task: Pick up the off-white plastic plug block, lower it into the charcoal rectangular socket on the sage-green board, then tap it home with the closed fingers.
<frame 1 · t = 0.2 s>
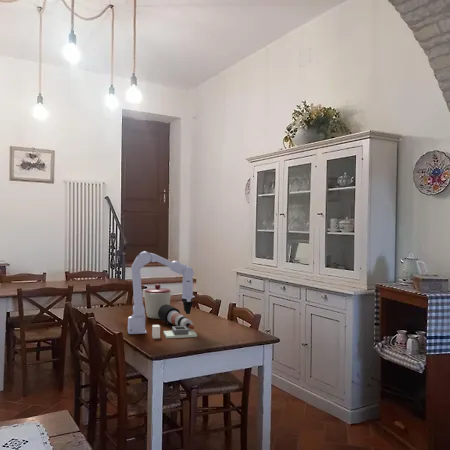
hand: (187, 312, 265), 10 cm above the table, fingers open, 7 cm apart
board: (180, 335, 253), on the table
plug: (156, 337, 248), on the table
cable: (178, 327, 271), on the table, touching board
canister: (157, 317, 300), on the table
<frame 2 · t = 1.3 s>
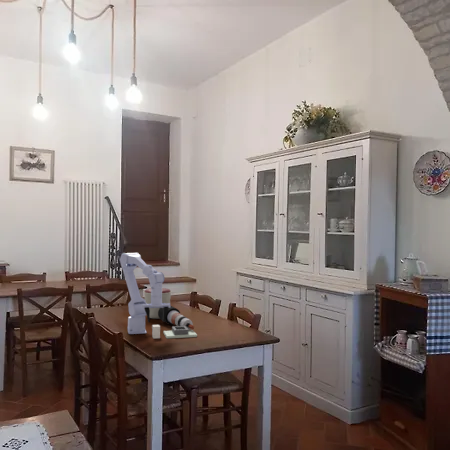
hand: (156, 321, 248), 8 cm above the table, fingers open, 7 cm apart
nothing on the table moved.
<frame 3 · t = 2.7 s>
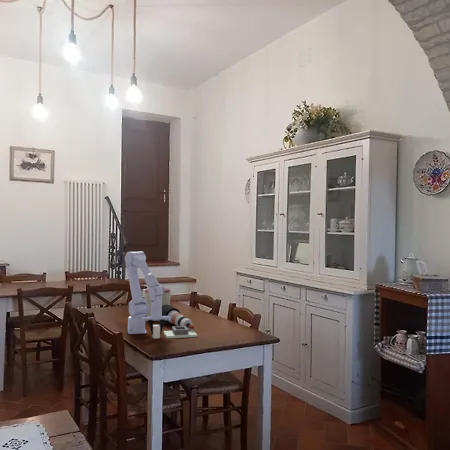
hand: (156, 334, 248), 1 cm above the table, fingers closed on plug, 3 cm apart
plug: (156, 337, 248), on the table, touching gripper
everything else where it was.
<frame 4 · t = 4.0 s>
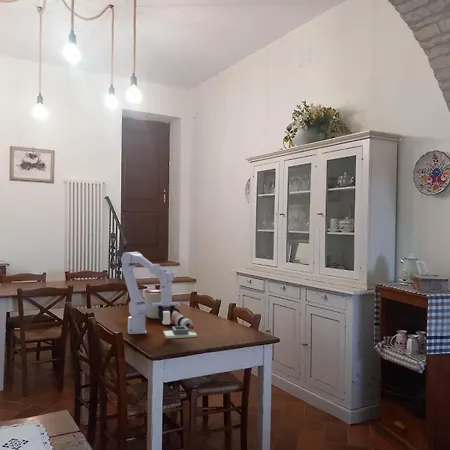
hand: (166, 320, 250), 8 cm above the table, fingers closed on plug, 3 cm apart
plug: (166, 323, 250), point 7 cm above the table, touching gripper
everything else where it was.
when the fingers open (4 cm above the table, at t = 5.6 s): plug drops 2 cm, resting on board.
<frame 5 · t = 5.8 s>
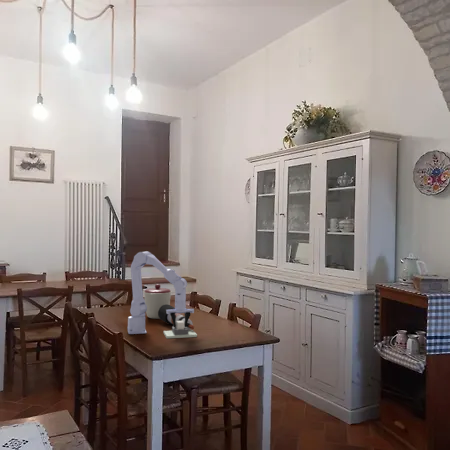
hand: (180, 326, 253), 4 cm above the table, fingers open, 5 cm apart
plug: (180, 332, 253), point 1 cm above the table, touching board
everything else where it was.
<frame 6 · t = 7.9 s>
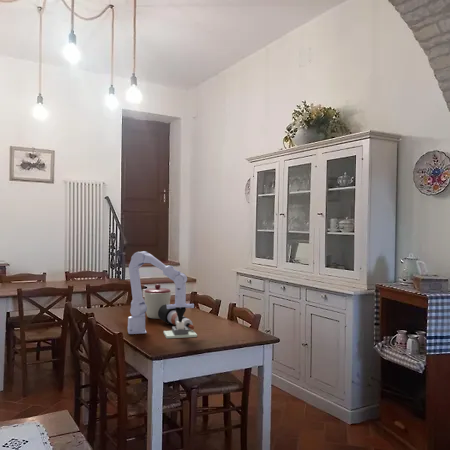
hand: (180, 321, 253), 7 cm above the table, fingers closed, pressing on plug
plug: (180, 332, 253), point 1 cm above the table, touching board, gripper
everything else where it was.
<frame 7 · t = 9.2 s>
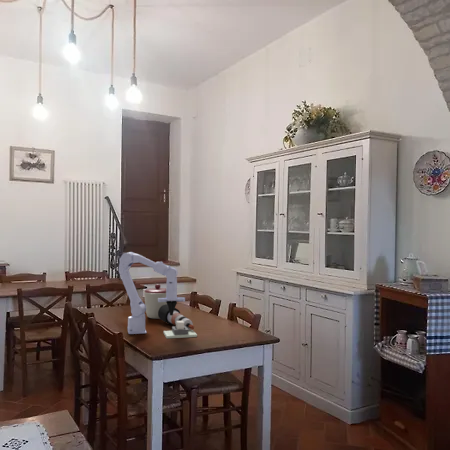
hand: (171, 315, 257), 10 cm above the table, fingers closed
plug: (180, 332, 253), point 1 cm above the table, touching board
everything else where it was.
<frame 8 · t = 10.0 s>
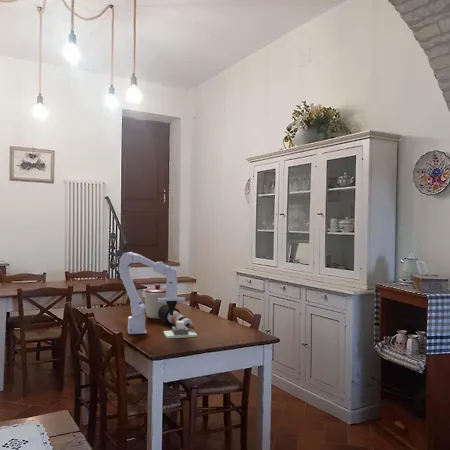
hand: (171, 315, 257), 10 cm above the table, fingers closed
nothing on the table moved.
at the end: plug 0.2 cm off-centre on the board, point 1.2 cm above the board's base; plug tilted 0°; the gripper is holding nothing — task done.
